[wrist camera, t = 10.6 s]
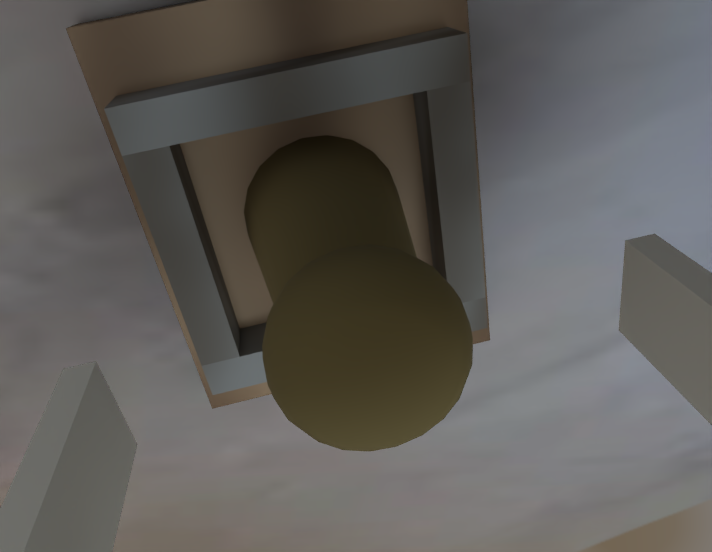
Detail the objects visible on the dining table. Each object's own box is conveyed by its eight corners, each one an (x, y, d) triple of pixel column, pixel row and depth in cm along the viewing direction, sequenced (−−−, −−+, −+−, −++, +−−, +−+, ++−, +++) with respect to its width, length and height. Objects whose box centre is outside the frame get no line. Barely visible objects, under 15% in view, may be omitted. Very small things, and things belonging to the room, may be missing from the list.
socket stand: (449, -50, 21) (485, -53, 17) (478, 322, 28) (506, 365, 25) (77, 24, 20) (47, 35, 17) (213, 387, 27) (210, 440, 24)
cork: (223, 258, 23) (210, 469, 13) (273, 110, 21) (301, 237, 11) (364, 297, 25) (440, 506, 15) (424, 166, 22) (558, 314, 13)
